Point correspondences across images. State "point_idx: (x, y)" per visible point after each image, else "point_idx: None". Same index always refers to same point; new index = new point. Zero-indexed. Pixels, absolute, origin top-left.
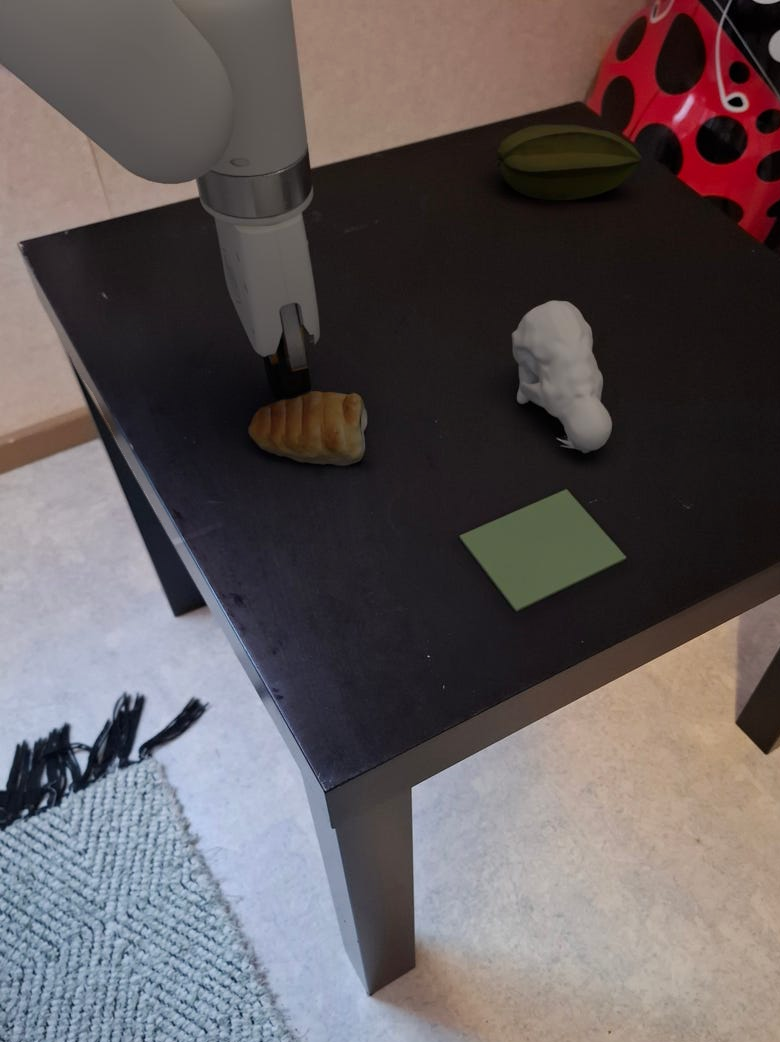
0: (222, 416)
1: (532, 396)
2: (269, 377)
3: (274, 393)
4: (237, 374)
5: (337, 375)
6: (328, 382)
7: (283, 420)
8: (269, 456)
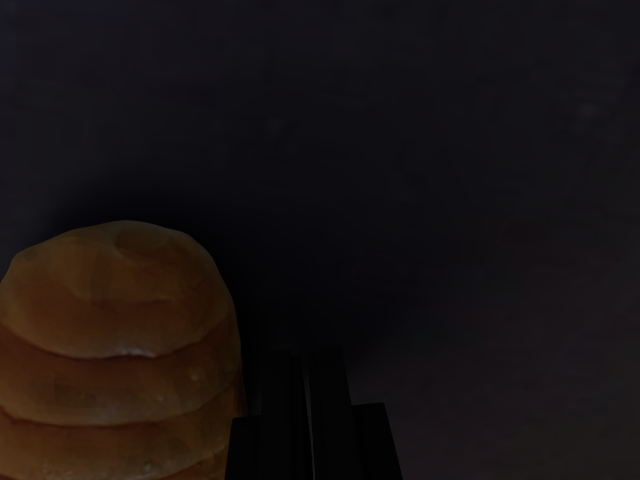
0: (309, 117)
1: None
2: (272, 424)
3: (264, 370)
4: (525, 210)
5: None
6: None
7: (25, 409)
8: None
